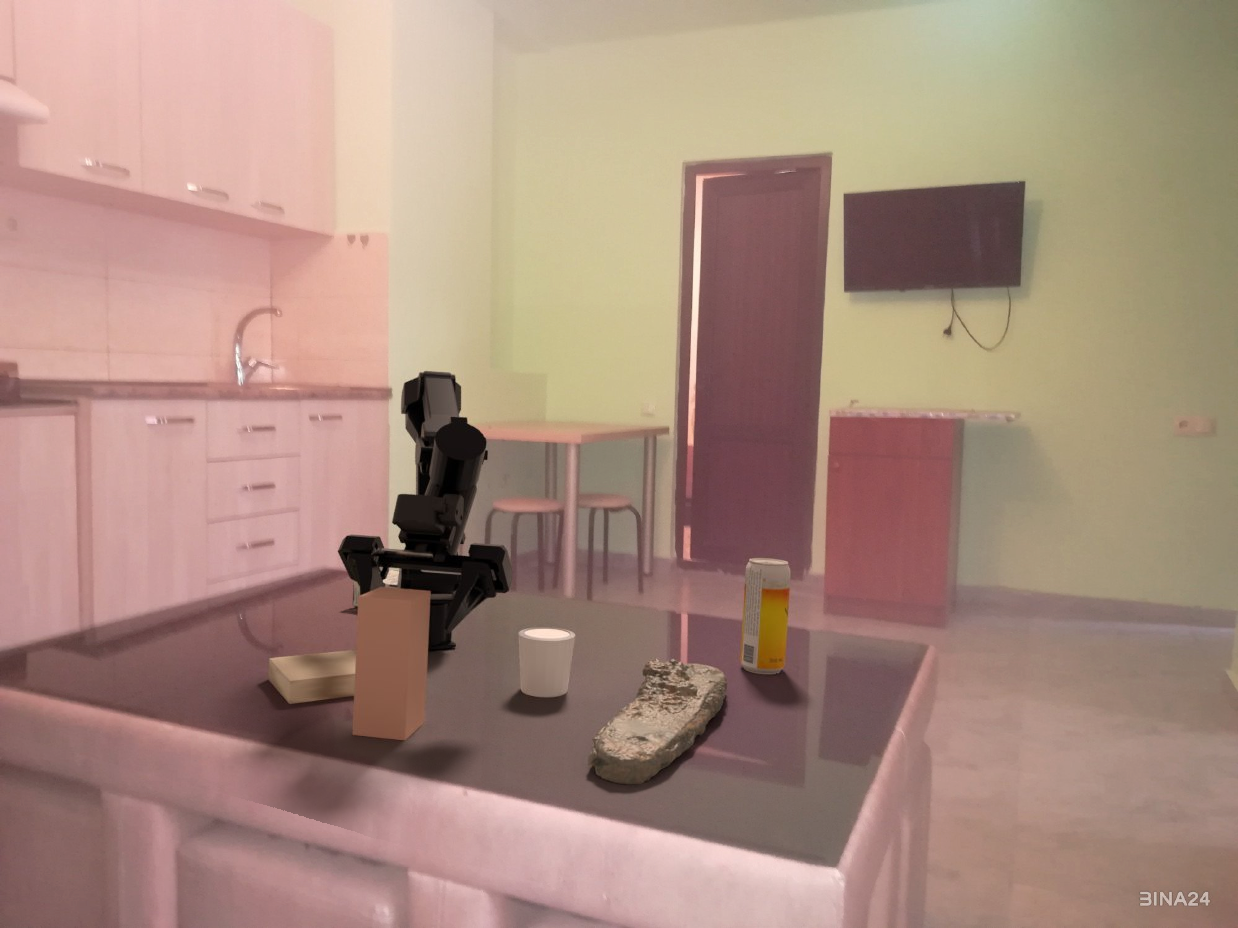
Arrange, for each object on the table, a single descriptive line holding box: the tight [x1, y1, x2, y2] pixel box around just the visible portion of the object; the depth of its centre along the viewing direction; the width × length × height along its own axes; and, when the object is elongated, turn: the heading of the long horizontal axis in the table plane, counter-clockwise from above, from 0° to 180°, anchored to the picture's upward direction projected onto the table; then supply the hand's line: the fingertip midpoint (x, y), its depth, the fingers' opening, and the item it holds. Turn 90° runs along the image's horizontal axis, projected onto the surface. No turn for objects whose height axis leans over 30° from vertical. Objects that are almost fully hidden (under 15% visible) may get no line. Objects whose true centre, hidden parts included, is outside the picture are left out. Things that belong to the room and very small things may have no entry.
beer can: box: [739, 557, 792, 675], centre depth 121 cm, size 6×6×15 cm
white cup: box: [518, 626, 576, 698], centre depth 107 cm, size 7×7×7 cm
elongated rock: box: [587, 658, 728, 786], centre depth 97 cm, size 35×5×10 cm
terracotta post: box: [352, 587, 431, 741], centre depth 91 cm, size 6×6×14 cm
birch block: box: [268, 649, 356, 705], centre depth 104 cm, size 10×10×3 cm
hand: (404, 627), depth 93 cm, fingers open, 9 cm apart
